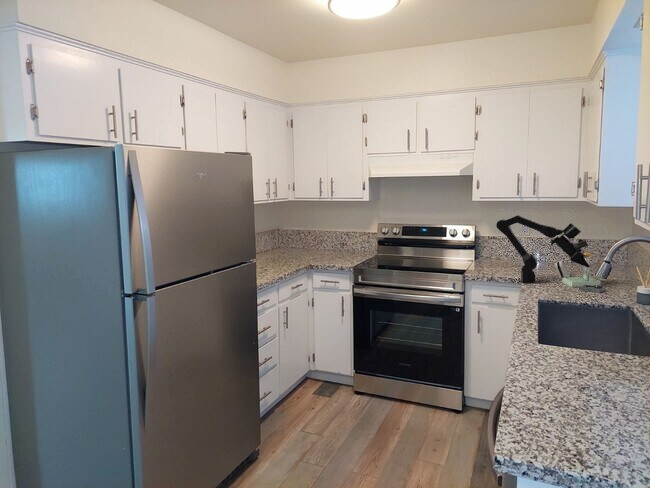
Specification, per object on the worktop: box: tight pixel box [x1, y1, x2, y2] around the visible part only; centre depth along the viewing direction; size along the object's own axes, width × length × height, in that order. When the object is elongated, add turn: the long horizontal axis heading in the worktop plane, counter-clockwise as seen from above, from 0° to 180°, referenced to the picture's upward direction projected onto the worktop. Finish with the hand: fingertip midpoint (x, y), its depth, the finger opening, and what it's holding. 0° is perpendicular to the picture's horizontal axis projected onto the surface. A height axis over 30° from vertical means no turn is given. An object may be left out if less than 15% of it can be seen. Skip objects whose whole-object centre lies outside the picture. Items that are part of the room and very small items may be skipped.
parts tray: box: [561, 276, 602, 288], centre depth 243 cm, size 14×12×3 cm
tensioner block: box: [578, 284, 607, 294], centre depth 228 cm, size 9×7×3 cm
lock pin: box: [582, 252, 592, 281], centre depth 241 cm, size 4×4×15 cm
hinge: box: [554, 260, 571, 279], centre depth 270 cm, size 17×5×10 cm, turn 150°
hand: (589, 266), depth 240 cm, fingers closed on lock pin, 3 cm apart
